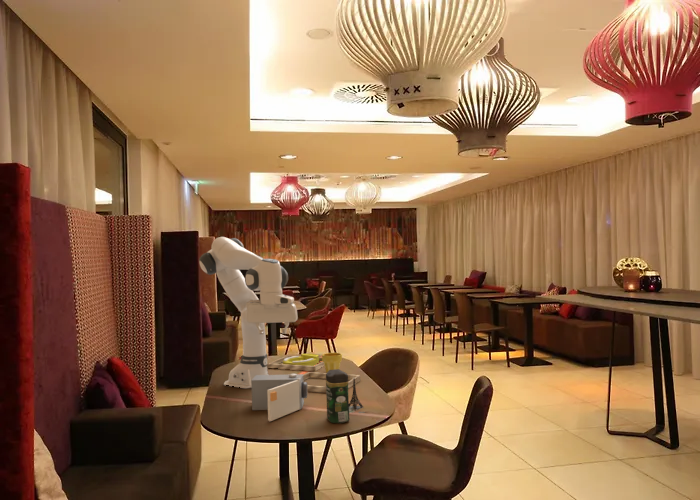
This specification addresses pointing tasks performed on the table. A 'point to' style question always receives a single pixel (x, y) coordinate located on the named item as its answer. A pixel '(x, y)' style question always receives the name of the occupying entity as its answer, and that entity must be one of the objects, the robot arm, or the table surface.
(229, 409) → the table surface
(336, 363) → the plant pot
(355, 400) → the eiffel tower figurine
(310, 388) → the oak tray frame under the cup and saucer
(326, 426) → the table surface
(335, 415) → the coffee jar
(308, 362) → the ashtray
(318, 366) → the oak tray frame under the ashtray
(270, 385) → the camera body
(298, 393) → the side door
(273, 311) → the robot arm
